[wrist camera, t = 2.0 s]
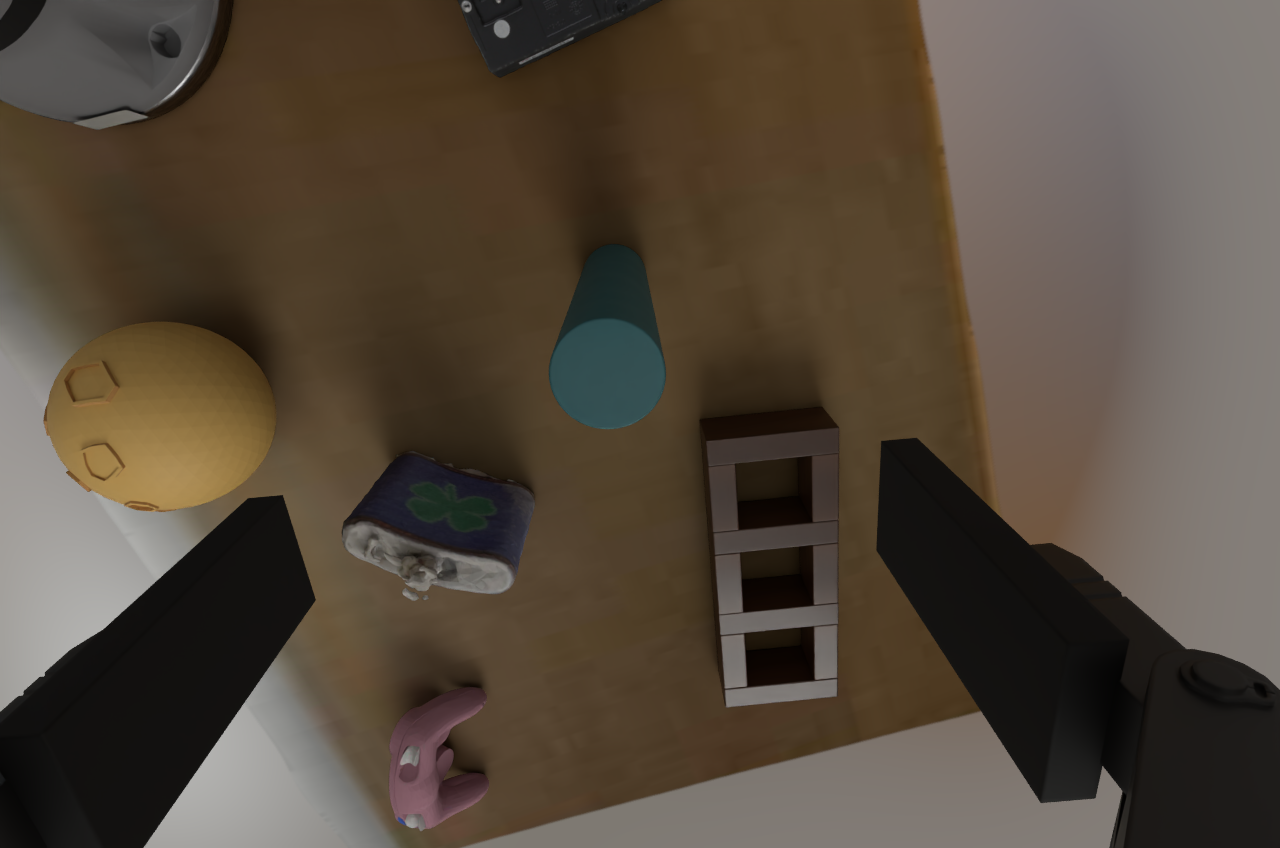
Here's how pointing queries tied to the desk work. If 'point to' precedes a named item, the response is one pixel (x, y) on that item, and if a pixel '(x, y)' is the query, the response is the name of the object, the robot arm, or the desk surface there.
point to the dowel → (609, 344)
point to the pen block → (774, 527)
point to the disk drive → (538, 26)
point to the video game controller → (432, 761)
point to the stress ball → (161, 416)
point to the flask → (441, 526)
